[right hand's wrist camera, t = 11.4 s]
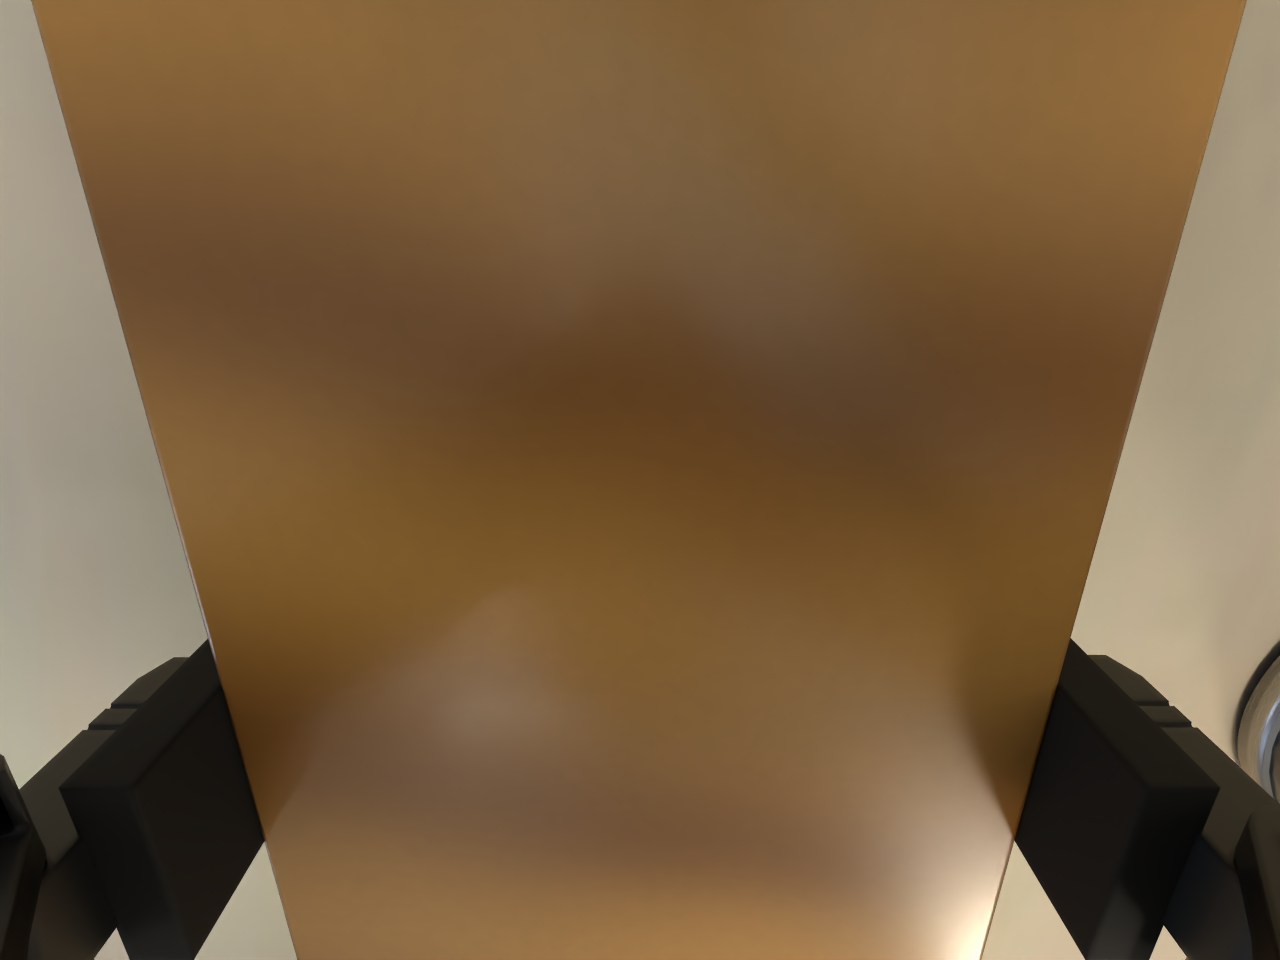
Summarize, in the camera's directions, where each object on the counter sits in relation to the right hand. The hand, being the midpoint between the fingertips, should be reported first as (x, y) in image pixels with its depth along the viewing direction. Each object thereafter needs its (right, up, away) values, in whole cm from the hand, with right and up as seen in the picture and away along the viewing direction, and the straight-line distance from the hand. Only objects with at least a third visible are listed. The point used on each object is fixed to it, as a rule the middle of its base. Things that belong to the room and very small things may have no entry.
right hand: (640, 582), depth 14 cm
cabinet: (0, +7, +2) cm, 7 cm away
